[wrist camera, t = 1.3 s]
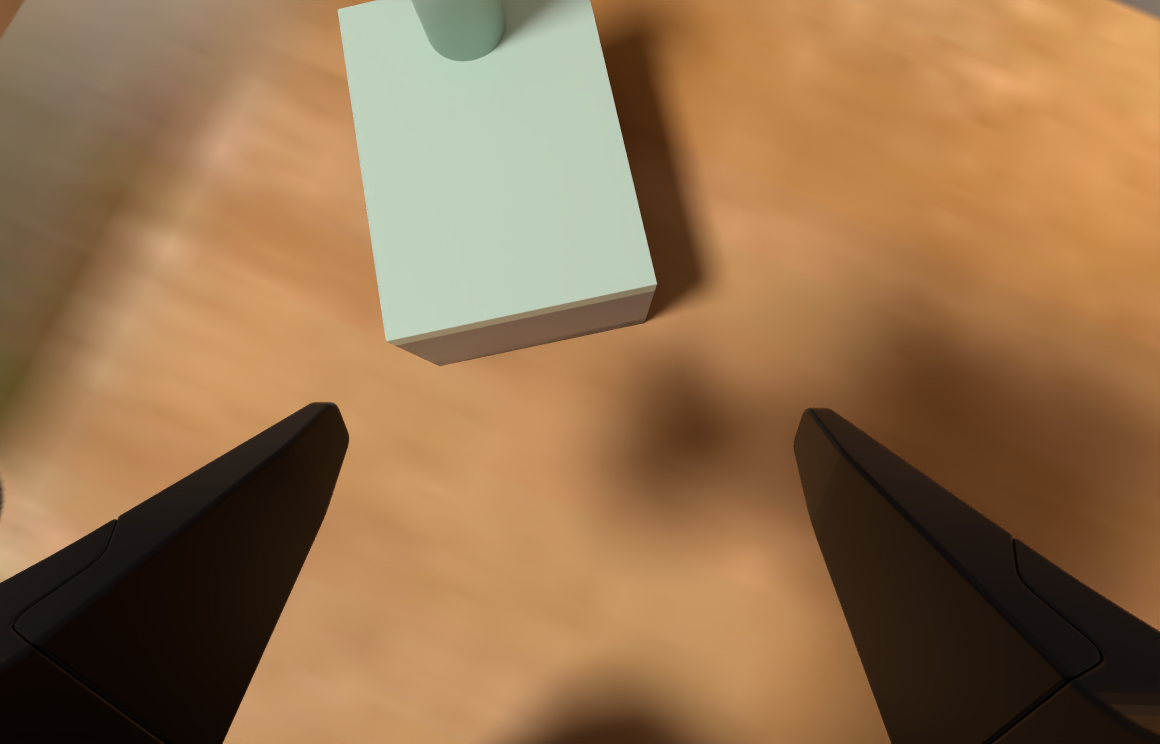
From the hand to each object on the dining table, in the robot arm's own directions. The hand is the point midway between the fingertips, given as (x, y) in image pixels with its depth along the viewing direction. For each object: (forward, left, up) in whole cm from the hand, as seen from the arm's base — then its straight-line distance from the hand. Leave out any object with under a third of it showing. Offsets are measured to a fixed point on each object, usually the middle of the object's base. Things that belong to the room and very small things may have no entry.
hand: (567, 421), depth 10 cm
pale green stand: (-1, +12, -8) cm, 14 cm away
